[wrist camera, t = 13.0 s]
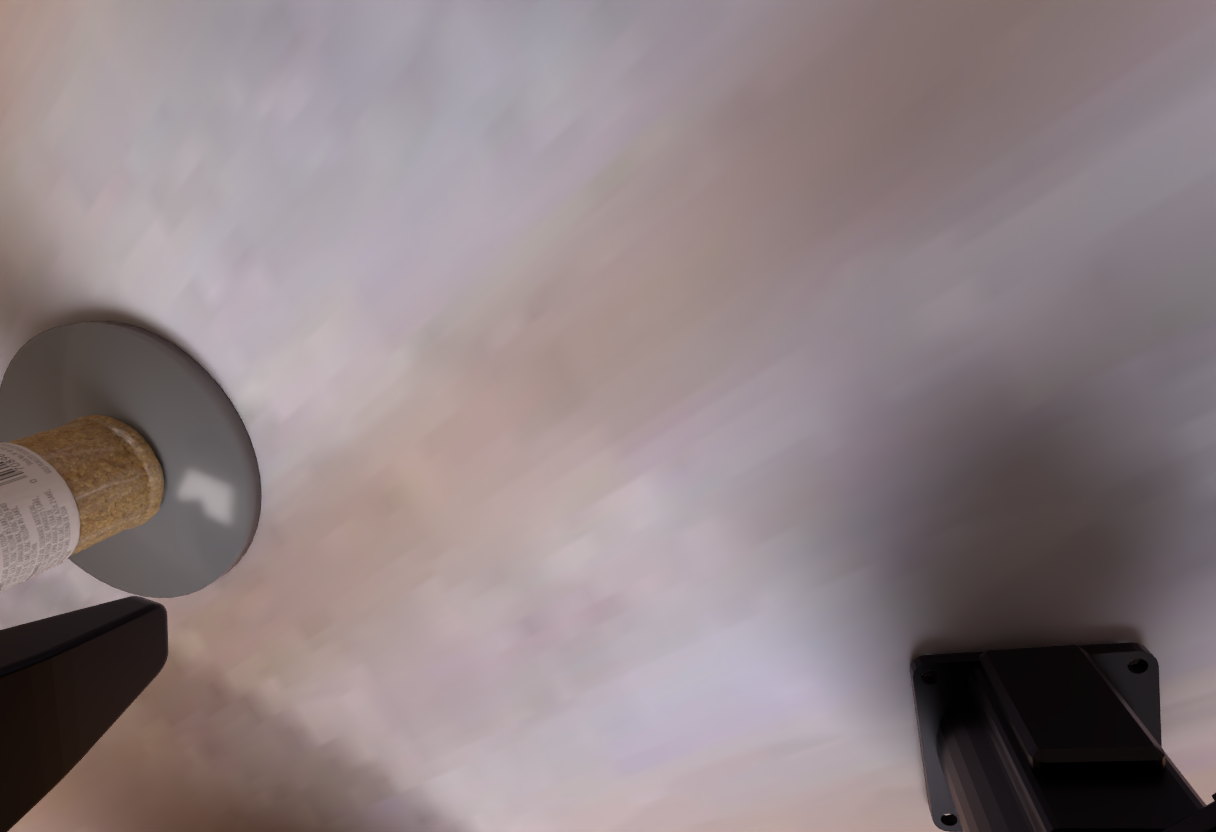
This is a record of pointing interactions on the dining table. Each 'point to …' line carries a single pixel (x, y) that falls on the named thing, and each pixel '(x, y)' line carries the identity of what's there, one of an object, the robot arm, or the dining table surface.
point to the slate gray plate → (175, 430)
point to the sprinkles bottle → (72, 492)
